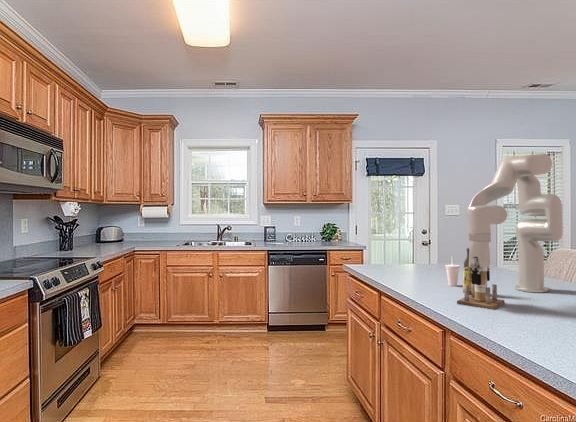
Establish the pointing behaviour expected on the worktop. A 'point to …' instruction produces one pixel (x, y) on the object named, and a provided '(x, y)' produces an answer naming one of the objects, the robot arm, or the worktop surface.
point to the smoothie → (452, 273)
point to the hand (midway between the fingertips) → (480, 282)
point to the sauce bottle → (467, 274)
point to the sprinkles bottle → (481, 286)
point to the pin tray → (489, 303)
